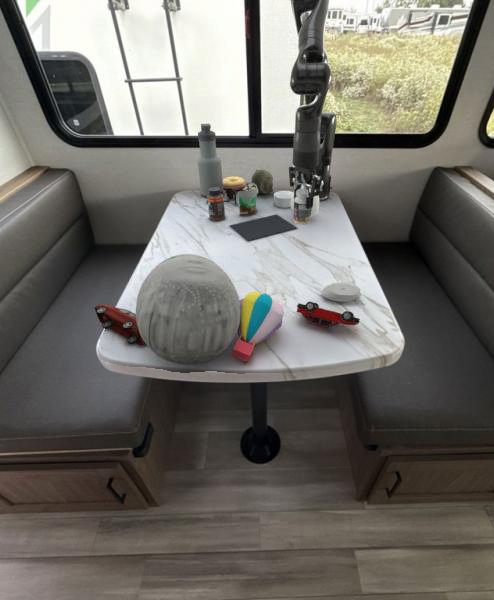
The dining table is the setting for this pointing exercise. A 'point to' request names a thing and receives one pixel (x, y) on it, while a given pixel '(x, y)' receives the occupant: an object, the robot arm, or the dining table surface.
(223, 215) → the supplement bottle
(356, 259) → the dining table surface
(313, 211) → the piggy bank
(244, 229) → the placemat
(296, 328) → the dining table surface
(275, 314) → the hot air balloon
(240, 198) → the food container
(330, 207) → the dining table surface
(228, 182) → the doughnut
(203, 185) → the water bottle
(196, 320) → the sculpture
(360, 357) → the dining table surface
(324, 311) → the toy car
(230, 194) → the sunglasses
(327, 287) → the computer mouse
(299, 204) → the pill bottle
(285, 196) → the ramekin
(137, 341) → the toy car
